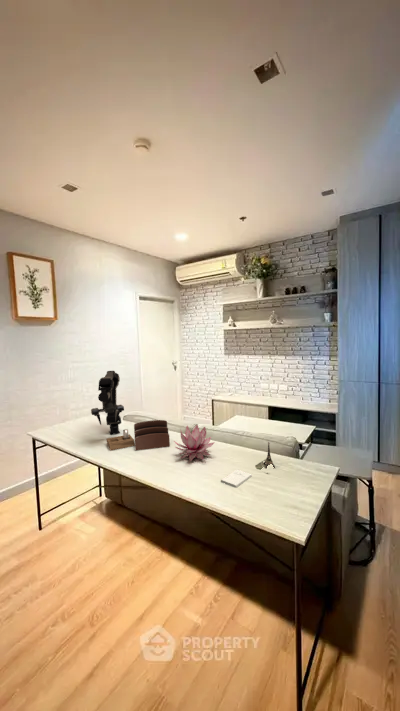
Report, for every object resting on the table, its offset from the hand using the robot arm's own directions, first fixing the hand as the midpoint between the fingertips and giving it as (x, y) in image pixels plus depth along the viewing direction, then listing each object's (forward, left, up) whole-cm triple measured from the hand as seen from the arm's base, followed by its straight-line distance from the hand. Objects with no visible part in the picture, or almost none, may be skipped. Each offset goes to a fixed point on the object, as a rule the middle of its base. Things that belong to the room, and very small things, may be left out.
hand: (108, 423), depth 182 cm
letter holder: (+19, +21, -12) cm, 31 cm away
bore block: (+8, +5, -12) cm, 15 cm away
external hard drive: (+78, +42, -13) cm, 89 cm away
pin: (+8, +9, -12) cm, 16 cm away
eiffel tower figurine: (+74, +62, -13) cm, 98 cm away
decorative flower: (+46, +36, -12) cm, 60 cm away
